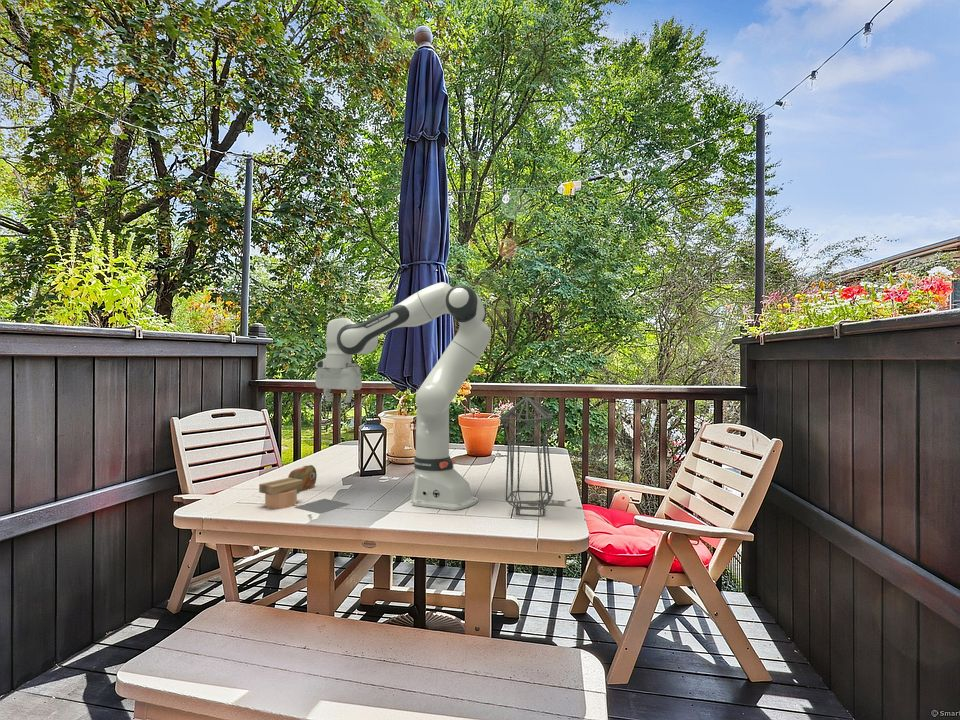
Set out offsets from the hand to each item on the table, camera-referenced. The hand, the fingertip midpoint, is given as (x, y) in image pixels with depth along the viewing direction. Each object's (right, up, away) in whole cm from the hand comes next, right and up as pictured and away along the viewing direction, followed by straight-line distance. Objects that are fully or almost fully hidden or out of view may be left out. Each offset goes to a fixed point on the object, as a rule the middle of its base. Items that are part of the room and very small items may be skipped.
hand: (338, 402), depth 177 cm
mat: (+2, -31, -22) cm, 38 cm away
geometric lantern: (+65, -31, -26) cm, 77 cm away
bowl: (-12, -31, -21) cm, 39 cm away
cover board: (-12, -26, -21) cm, 35 cm away
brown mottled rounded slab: (-12, -31, -2) cm, 34 cm away
